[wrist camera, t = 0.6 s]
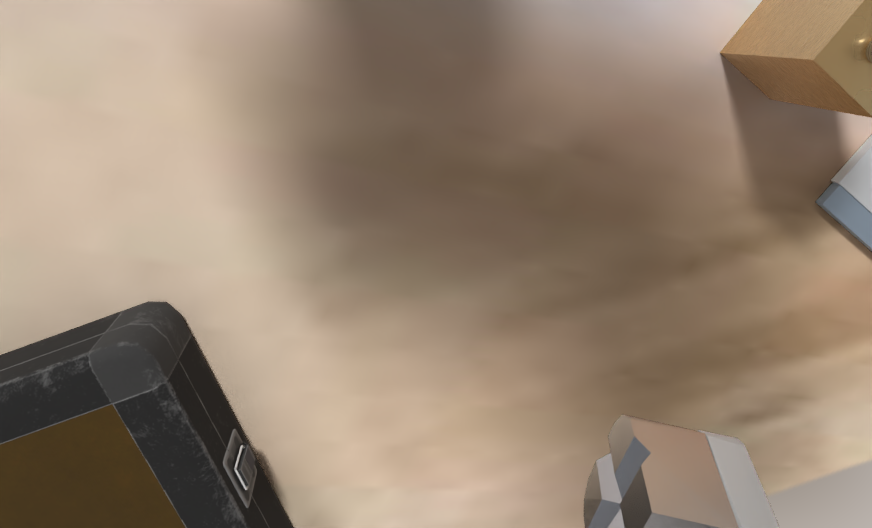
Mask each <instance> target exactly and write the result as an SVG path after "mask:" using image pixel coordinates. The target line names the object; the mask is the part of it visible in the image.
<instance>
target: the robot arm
mask: <svg viewBox="0 0 872 528" xmlns="http://www.w3.org/2000/svg"><path fill="white" fill-rule="evenodd" d="M608 439H609V445H610V451H611V453H609V454H607V455H605V456H604V457H602V458H600V459H598V460H596V462H595V465H594V467H593V469H592V472H591V474H590V476H589V479H588V483H587V488H586V493H585V498H584V523H585V528H780V527H779V524H778V522H777V520H776V517H775V515H774V513H773V510H772V508H771V505H770V503H769V501H768V498H767V496H766V494H765V491H764V489H763V487H762V484H761V482H760V479H759V477H758V475H757V472H756V470H755V468H754V465H753V463H752V461H751V458H750V456H749V454H748V451H747V449H746V447H745V445H744V444H743V443H742V442H741V441H740V440H739V439H738V438H735V437H731V436H726V435H721V434H716V433H711V432H706V431H701V430H698V431H695V430H691V429H687V428H682V427H678V426H673V425H669V424H664V423H660V422H655V421H651V420H646V419H642V418H637V417H633V416H628V415H624V414H622V415H621V416H620V417H619V418H618V419H617V420H616V421H615V423H614V425H613V427H612V429H611V431H610V433H609V435H608Z"/></svg>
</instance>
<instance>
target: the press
mask: <svg viewBox="0 0 872 528" xmlns="http://www.w3.org/2000/svg"><path fill="white" fill-rule="evenodd" d="M831 181H832V182H833V183H832V184H831V185H830V186H829V187H828V188H827V189H826V190H825V192H824V193H823V194H822V195H821V196H820V197H819V198H818V199H817V201H816V203H817V204H818V205H819V206H820V207H822V208H823V209H824V210H825V211H826V212H827V213H828V214H829V215H831V216H832V217H833V218H834V219H835V220H836V221H837V222H839V223H840V224H841V225H842V226H843V227H844V228H845V229H846V230H848V231H849V232H850V233H851V234H852V235H853V236H854V237H856V238H857V239H858V240H859V241H860V242H861V243H862V244H863V245H865V246H866V247H867V248H868V249H869V250H870V251H871V252H872V135H871V136H870V137H869V138H868V139H867V140H866V141H865V142H864V144H863V145H862V146H861V147H860V148H859V149H858V150H857V151H856V152H855V154H854V155H853V156H852V157H851V158H850V159H849V160H848V161H847V163H846V164H845V165H844V166H843V167H842V168H841V169H840V170H839V171H838V173H837V174H836V175H835V176H834V177H833V178H832V179H831Z"/></svg>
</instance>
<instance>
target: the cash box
mask: <svg viewBox="0 0 872 528" xmlns="http://www.w3.org/2000/svg"><path fill="white" fill-rule="evenodd" d="M0 528H293V527H292V525H291V524H290V522H289V520H288V518H287V516H286V514H285V512H284V510H283V508H282V506H281V504H280V503H279V501H278V499H277V497H276V495H275V493H274V491H273V489H272V487H271V485H270V483H269V482H268V480H267V478H266V476H265V474H264V472H263V470H262V468H261V466H260V464H259V462H258V461H257V459H256V457H255V455H254V453H253V451H252V449H251V447H250V445H249V443H248V442H247V440H246V438H245V436H244V434H243V432H242V430H241V428H240V426H239V424H238V422H237V421H236V419H235V417H234V415H233V413H232V411H231V409H230V407H229V405H228V403H227V401H226V400H225V398H224V396H223V394H222V392H221V390H220V388H219V386H218V384H217V382H216V380H215V379H214V377H213V375H212V373H211V371H210V369H209V367H208V365H207V363H206V361H205V360H204V358H203V356H202V354H201V352H200V350H199V348H198V346H197V344H196V342H195V340H194V339H193V337H192V335H191V333H190V331H189V329H188V327H187V325H186V323H185V322H184V320H183V318H182V316H181V314H180V313H179V312H178V311H177V310H175V309H174V308H173V307H172V306H171V305H170V304H168V303H167V302H146V303H143V304H141V305H138V306H135V307H132V308H130V309H127V310H124V311H121V312H118V313H116V314H113V315H110V316H107V317H105V318H102V319H99V320H96V321H94V322H91V323H88V324H85V325H83V326H80V327H77V328H74V329H71V330H69V331H66V332H63V333H60V334H58V335H55V336H52V337H49V338H47V339H44V340H41V341H38V342H36V343H33V344H30V345H27V346H25V347H22V348H19V349H16V350H14V351H11V352H8V353H5V354H2V355H0Z"/></svg>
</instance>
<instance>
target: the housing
mask: <svg viewBox="0 0 872 528" xmlns="http://www.w3.org/2000/svg"><path fill="white" fill-rule="evenodd" d="M720 53H721V54H722V55H723V56H724V57H725V58H726V59H727V60H728V61H729V62H731V63H732V64H733V65H734V66H735V67H736V68H737V69H738V70H739V71H740V72H741V73H742V74H744V75H745V76H746V77H747V78H748V79H749V80H750V81H751V82H752V83H753V84H754V85H756V86H757V87H758V88H759V89H760V90H761V91H762V92H763V93H764V94H765V95H766V96H767V97H769V98H770V99H772V100H778V101H783V102H789V103H794V104H800V105H805V106H811V107H816V108H822V109H828V110H833V111H839V112H844V113H850V114H855V115H861V116H866V117H872V0H763V1H762V2H761V3H760V4H759V6H758V7H757V8H756V9H755V10H754V12H753V13H752V14H751V15H750V17H749V18H748V19H747V20H746V21H745V23H744V24H743V25H742V26H741V28H740V29H739V30H738V31H737V32H736V34H735V35H734V36H733V37H732V39H731V40H730V41H729V42H728V43H727V45H726V46H725V47H724V48H723V50H722V51H721V52H720Z"/></svg>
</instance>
